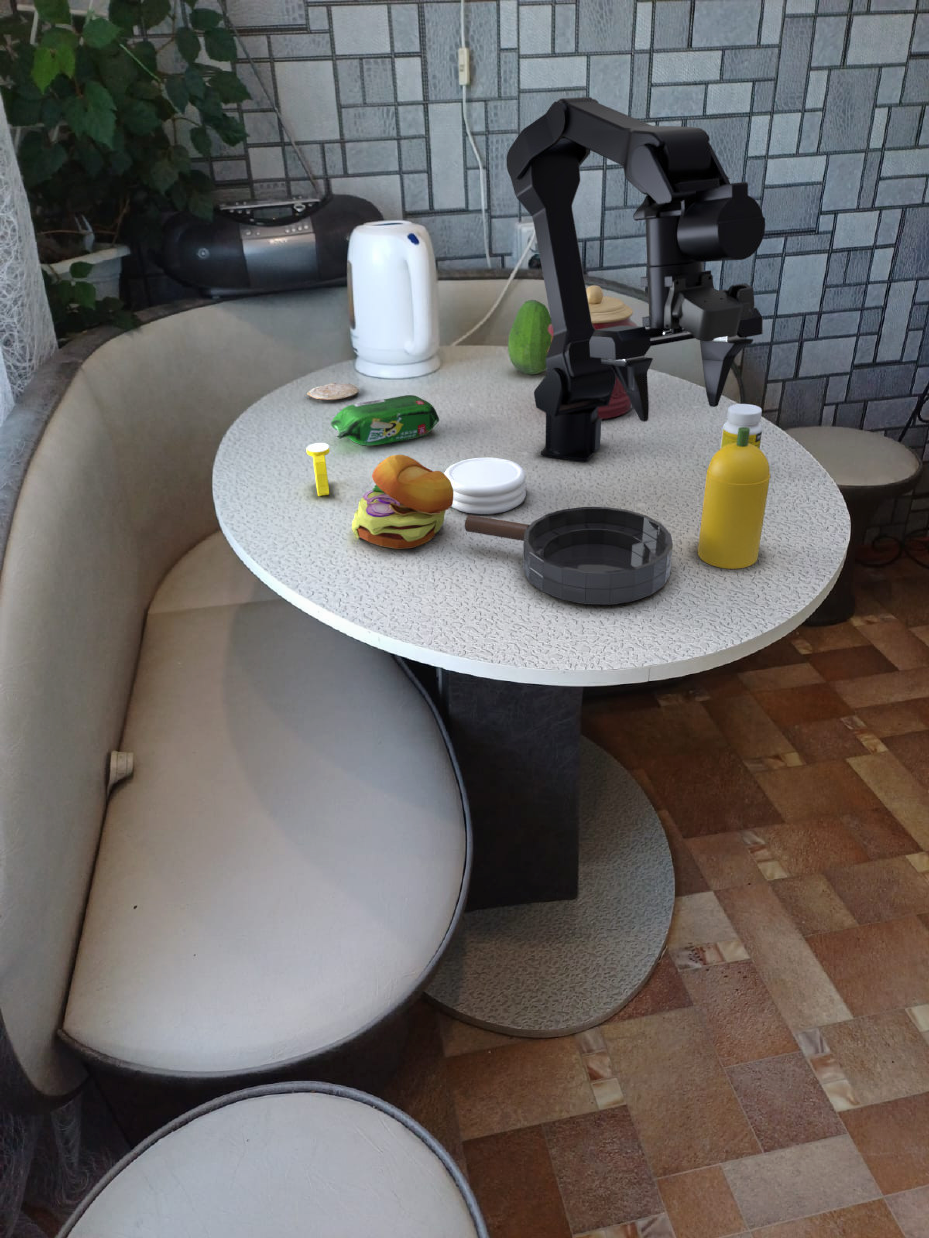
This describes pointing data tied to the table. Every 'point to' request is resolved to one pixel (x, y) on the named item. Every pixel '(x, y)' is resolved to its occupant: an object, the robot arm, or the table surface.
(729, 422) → the supplement bottle
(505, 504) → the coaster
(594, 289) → the kitchen canister
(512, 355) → the avocado
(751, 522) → the pepper
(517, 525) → the handle
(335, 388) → the flatbread
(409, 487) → the cheeseburger
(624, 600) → the dark grey frying pan
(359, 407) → the snack package
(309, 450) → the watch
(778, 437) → the table surface
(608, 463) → the table surface
